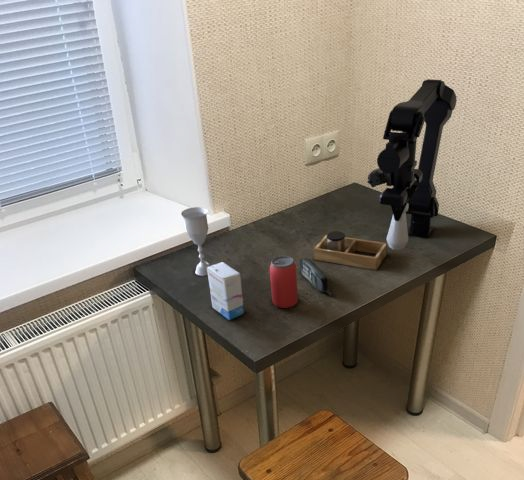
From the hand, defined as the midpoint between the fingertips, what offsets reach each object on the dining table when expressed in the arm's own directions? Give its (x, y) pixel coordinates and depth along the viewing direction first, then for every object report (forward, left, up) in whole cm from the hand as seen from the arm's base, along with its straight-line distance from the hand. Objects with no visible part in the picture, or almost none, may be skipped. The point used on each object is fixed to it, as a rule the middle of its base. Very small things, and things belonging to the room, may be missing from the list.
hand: (399, 217), depth 150 cm
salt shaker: (0, 0, -9) cm, 9 cm away
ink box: (+39, -33, -13) cm, 52 cm away
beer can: (+30, -20, -13) cm, 39 cm away
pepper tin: (+2, -17, -13) cm, 22 cm away
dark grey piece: (+19, -16, -13) cm, 29 cm away
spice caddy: (+2, -13, -13) cm, 18 cm away
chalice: (+23, -49, -13) cm, 56 cm away
